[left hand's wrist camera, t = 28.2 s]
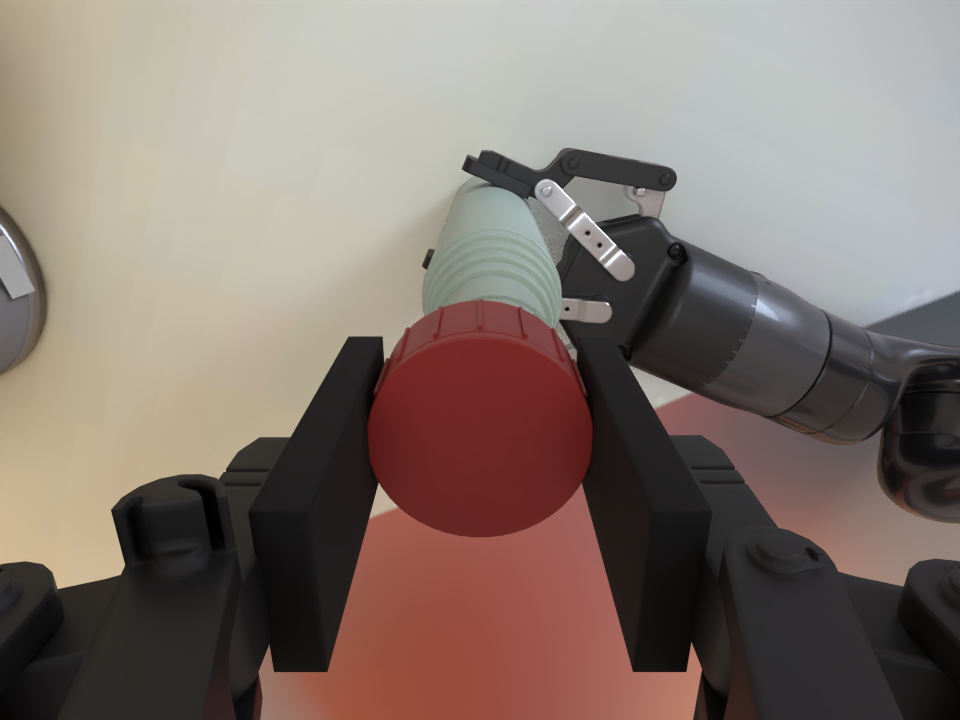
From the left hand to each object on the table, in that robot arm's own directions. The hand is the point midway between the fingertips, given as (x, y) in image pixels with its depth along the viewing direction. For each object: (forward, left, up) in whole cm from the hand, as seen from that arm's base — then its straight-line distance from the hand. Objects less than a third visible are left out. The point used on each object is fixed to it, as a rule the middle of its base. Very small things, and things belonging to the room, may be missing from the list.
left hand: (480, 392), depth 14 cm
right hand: (0, +2, -21) cm, 21 cm away
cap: (0, 0, +2) cm, 2 cm away
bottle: (0, 0, -28) cm, 28 cm away
